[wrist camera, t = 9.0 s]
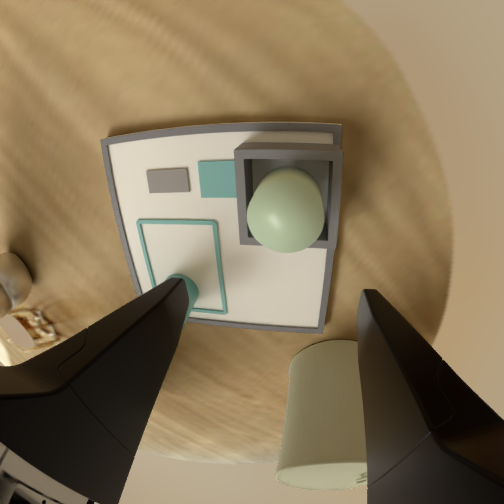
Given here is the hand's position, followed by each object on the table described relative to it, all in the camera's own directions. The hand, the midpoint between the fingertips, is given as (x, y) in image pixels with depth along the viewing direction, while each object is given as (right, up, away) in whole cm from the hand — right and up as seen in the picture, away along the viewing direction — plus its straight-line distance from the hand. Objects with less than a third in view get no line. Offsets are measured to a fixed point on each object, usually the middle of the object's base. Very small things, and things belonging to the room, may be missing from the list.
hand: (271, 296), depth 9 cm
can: (+8, -10, +18) cm, 22 cm away
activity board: (-3, +2, +12) cm, 13 cm away
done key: (+1, +4, +7) cm, 9 cm away
